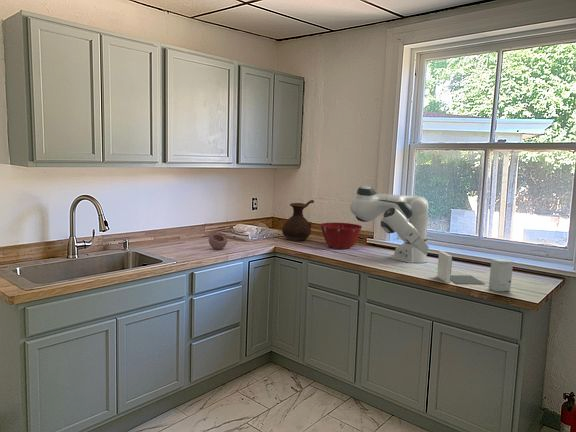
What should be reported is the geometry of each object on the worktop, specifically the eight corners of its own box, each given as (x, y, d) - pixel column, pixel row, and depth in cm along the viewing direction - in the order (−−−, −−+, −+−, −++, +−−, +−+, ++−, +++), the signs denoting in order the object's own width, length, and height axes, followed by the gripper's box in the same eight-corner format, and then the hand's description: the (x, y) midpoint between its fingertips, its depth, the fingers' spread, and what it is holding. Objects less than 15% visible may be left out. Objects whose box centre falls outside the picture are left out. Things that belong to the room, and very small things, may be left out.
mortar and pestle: (217, 251, 292) (217, 234, 290) (204, 249, 299) (204, 231, 297) (231, 249, 301) (231, 231, 300) (218, 246, 308) (218, 229, 307)
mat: (456, 284, 233) (456, 283, 233) (443, 275, 249) (443, 275, 248) (485, 284, 234) (485, 283, 234) (471, 276, 249) (471, 275, 249)
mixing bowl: (340, 241, 338) (341, 221, 336) (369, 248, 316) (370, 226, 314) (311, 245, 321) (312, 223, 319) (339, 253, 299) (340, 229, 297)
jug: (296, 243, 327) (297, 201, 323) (276, 238, 342) (277, 198, 338) (317, 240, 341) (318, 200, 337) (297, 236, 357) (298, 197, 353)
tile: (446, 282, 234) (448, 256, 233) (437, 276, 246) (438, 251, 244) (450, 283, 235) (452, 256, 233) (441, 276, 246) (443, 251, 245)
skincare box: (495, 291, 221) (498, 261, 219) (487, 288, 227) (490, 258, 225) (511, 291, 223) (513, 261, 221) (503, 287, 229) (505, 258, 227)
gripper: (398, 234, 246) (415, 253, 248) (410, 242, 226) (428, 262, 228) (407, 226, 246) (423, 245, 248) (420, 233, 226) (438, 253, 227)
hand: (426, 253), depth 238 cm, fingers closed
